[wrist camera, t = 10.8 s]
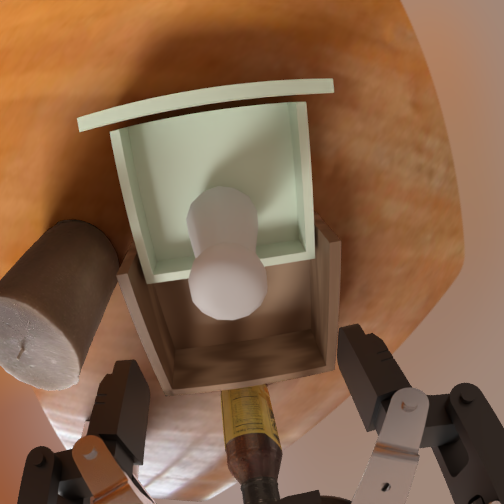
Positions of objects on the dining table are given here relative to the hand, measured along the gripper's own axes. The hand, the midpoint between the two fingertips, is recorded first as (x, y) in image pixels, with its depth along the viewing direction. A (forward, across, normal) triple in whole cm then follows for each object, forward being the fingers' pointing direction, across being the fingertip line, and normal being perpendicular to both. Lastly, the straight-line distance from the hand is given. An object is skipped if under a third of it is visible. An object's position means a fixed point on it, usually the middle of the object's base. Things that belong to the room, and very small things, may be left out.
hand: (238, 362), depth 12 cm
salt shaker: (+18, 0, 0) cm, 18 cm away
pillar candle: (+20, +16, +3) cm, 26 cm away
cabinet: (+20, 0, +10) cm, 22 cm away
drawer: (+19, 0, -3) cm, 19 cm away
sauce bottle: (+20, +1, +25) cm, 32 cm away
